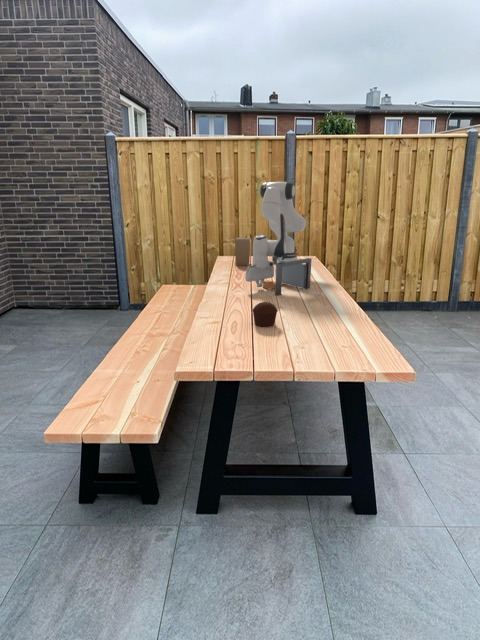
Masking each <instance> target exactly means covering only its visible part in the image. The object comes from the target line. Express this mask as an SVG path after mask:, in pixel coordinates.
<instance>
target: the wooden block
mask: <svg viewBox="0 0 480 640" xmlns="http://www.w3.org/2000/svg"><path fill="white" fill-rule="evenodd" d="M234 241H235V243H234V244H235V247H234V248H235V252H234V253H235V257H234V258H235V260H234V261H235V263H234V264H235V266H236V267H238V266H239V267H248V266H249V265H250V261H251V259H250V258H251V257H250V256H251V255H250V251H251V249H250V246H251V245H250V244H251V238H249V237H237V238H235V240H234Z"/></svg>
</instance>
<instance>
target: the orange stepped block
mask: <svg viewBox="0 0 480 640" xmlns="http://www.w3.org/2000/svg"><path fill="white" fill-rule="evenodd" d="M275 285H276V281H274V280H273V281H272V280H270V279H269V280H267V279H265V280H264V282H263V285H262V288H263V289H267V290H270V289H271V290H272V289H274V288H275ZM283 285H284V283H282V286H281V287H283Z"/></svg>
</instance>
